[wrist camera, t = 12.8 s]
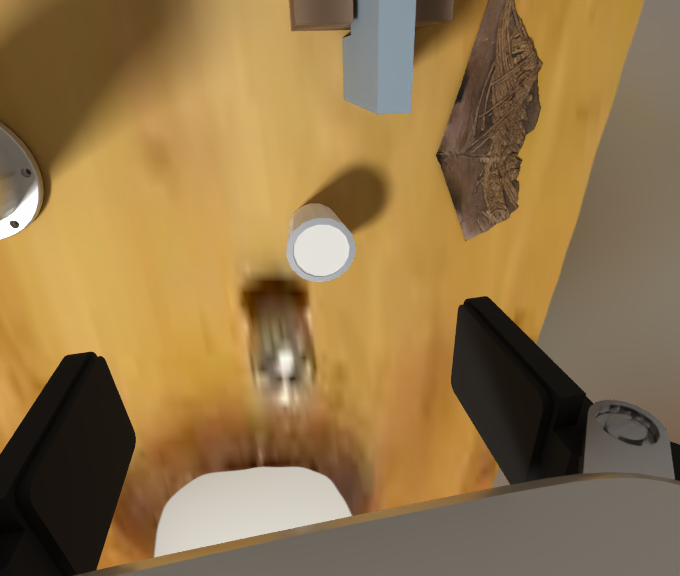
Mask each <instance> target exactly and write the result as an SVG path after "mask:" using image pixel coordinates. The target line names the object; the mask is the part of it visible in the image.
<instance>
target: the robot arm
mask: <svg viewBox="0 0 680 576" xmlns="http://www.w3.org/2000/svg"><path fill="white" fill-rule="evenodd" d="M28 170H30V172H31V173H30V172H29V171H28ZM43 196H44V187H43V179H42V176H41V173H40V170H39V167H38V165H37V163H36V161H35V159H34V157H33V155H32V154H31V152H30V151H29V150H28V148H27V147H26V146H25V144H24V143H23V142H22V141H21V140H20V139H19V138H18V137H17V136H16V135H15V134H14V133H13V132H12V131H11V130H10V129H9V128H7V127H6V126H5V125H3V124H2V123H1V122H0V240H1V239H5V238H8V237H10V236H13V235H15V234H17V233H19V232H20V231H22V230H24V229H25V228H26V227H27V226H29V225H30V224H31V223H32V222H33V221H34V219H35V218H36V217H37V215H38V214H39V212H40V209H41V206H42V204H43ZM451 384H452V388H453V391H454V393H455V395H456V396H457V398H458V399H459V401H460V403H461V404H462V406H463V408H464V409H465V411H466V413H467V414H468V416H469V418H470V419H471V421H472V422H473V424H474V426H475V427H476V429H477V431H478V432H479V434H480V436H481V437H482V439H483V440H484V442H485V444H486V445H487V447H488V449H489V450H490V452H491V454H492V455H493V457H494V459H495V460H496V462H497V463H498V465H499V467H500V468H501V470H502V472H503V473H504V475H505V476H506V478H507V480H508V481H509V483H510V485H507V486H501V487H496V488H490V489H485V490H480V491H475V492H470V493H465V494H460V495H455V496H450V497H445V498H440V499H435V500H430V501H425V502H420V503H415V504H410V505H405V506H400V507H395V508H390V509H385V510H380V511H375V512H370V513H366V514H361V515H356V516H351V517H346V518H341V519H336V520H332V521H327V522H322V523H317V524H312V525H307V526H302V527H298V528H293V529H288V530H283V531H278V532H274V533H269V534H264V535H259V536H254V537H249V538H245V539H240V540H235V541H230V542H226V543H221V544H217V545H212V546H207V547H202V548H197V549H193V550H188V551H183V552H178V553H174V554H169V555H164V556H160V557H155V558H150V559H145V560H141V561H136V562H131V563H127V564H122V565H118V566H114V567H109V568H105V569H101V570H96V569H97V566H98V563H99V559H100V556H101V553H102V550H103V547H104V544H105V540H106V537H107V534H108V531H109V528H110V525H111V521H112V518H113V515H114V512H115V509H116V506H117V502H118V499H119V496H120V493H121V490H122V486H123V483H124V480H125V477H126V474H127V471H128V467H129V464H130V461H131V458H132V455H133V452H134V448H135V443H136V437H135V432H134V429H133V427H132V424H131V422H130V420H129V417H128V415H127V412H126V410H125V407H124V405H123V402H122V400H121V397H120V395H119V392H118V390H117V388H116V385H115V383H114V380H113V378H112V375H111V373H110V370H109V368H108V365H107V363H106V361H105V359H104V358H103V357H102V356H99V357H97V355H96V354H95V353H94V352H86V353H79V354H72V355H67V356H65V357H64V358H63V360H62V361H61V363H60V364H59V366H58V367H57V369H56V370H55V372H54V373H53V375H52V376H51V378H50V379H49V381H48V382H47V384H46V386H45V387H44V389H43V390H42V392H41V393H40V395H39V396H38V398H37V399H36V401H35V402H34V404H33V405H32V407H31V408H30V410H29V411H28V413H27V415H26V416H25V418H24V419H23V421H22V422H21V424H20V425H19V427H18V428H17V430H16V431H15V433H14V434H13V436H12V437H11V439H10V440H9V442H8V444H7V445H6V447H5V448H4V450H3V451H2V453H1V454H0V576H680V445H679V444H676V443H673V442H670V440H669V435H668V432H667V430H666V428H665V427H664V425H663V424H662V423H661V422H660V421H659V420H658V419H657V418H656V417H654V416H653V415H652V414H651V413H649V412H647V411H646V410H644V409H642V408H640V407H638V406H636V405H633V404H630V403H627V402H623V401H618V400H603V401H598V402H595V403H594V404H593V403H592V402H591V401H590V400H589V399H588V398H587V397H586V396H585V395H586V393H585V392H584V391H582V389H581V388H580V387H579V386H578V385H577V384H576V383H575V382H574V381H573V380H571V378H570V377H568V375H566V373H564V372H563V371H562V370H561V369H560V368H559V367H558V366H557V365H556V364H555V363H554V362H553V361H552V360H551V359H550V358H549V357H548V356H547V355H546V354H545V353H544V352H543V351H542V350H541V349H540V348H539V347H538V346H537V345H536V344H535V343H534V342H533V341H532V340H531V339H530V338H529V337H528V336H527V335H526V334H525V333H524V332H523V331H522V330H521V329H520V328H519V327H518V326H517V325H516V324H515V323H514V322H513V321H512V320H511V319H510V318H509V317H508V316H507V315H506V314H505V313H504V312H503V311H502V310H501V309H500V308H499V307H498V306H497V305H496V304H495V303H494V302H493V301H492V300H491V299H490V298H488V297H486V296H484V297H477V298H470V299H466V300H465V301H464V304H463V305H460V306H459V308H458V315H457V325H456V335H455V345H454V355H453V365H452V375H451Z"/></svg>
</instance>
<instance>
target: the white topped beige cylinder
mask: <svg viewBox="0 0 680 576" xmlns="http://www.w3.org/2000/svg"><path fill="white" fill-rule="evenodd" d="M355 247H356V245H355V242H354V239H353V236H352V233H351V232H350V231H349V230H348V228H347V227H346V226H345V225H344V224H343V222H342V221H341V220H340V219H339V218H338V216H337V215H336V214H335V213H334V212H333V211H332V210H331V209H330V208H329V207H327V206H325V205H323V204H321V203H309V204H307V205H304V206H301V207H300V208H299V209H298V210H297V211H296V212H294V214H293V216H292V218H291V220H290V223H289V231H288V239H287V259H288V262H289V264H290V266H291V269H292V270H294V271H295V272H296V273H297V274H298V275H299V276H300V277H302V278H304V279H307V280H309V281H312V282H327V281H329V280H332V279H335V278H338V277H339V276H340V275H342V274H343V273H344V272H345V271H346V270H348V268H349V267H350V265H351V263H352V261H353V259H354V256H355Z"/></svg>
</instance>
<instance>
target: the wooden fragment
mask: <svg viewBox="0 0 680 576" xmlns="http://www.w3.org/2000/svg"><path fill="white" fill-rule="evenodd" d="M541 67H542V63H541V62H540V60H539V59H538V57H537V55H536V52H535V50H534V47H533V44H532V42H531V40H530V38H529V37H528V36H527V34H526V32H525V30H524V27H523V24H522V21H521V19H520V18H519V17H518V15H517V12H516V10H515V6H514V1H513V0H489V2H488V4H487V8H486V11H485V14H484V17H483V20H482V23H481V26H480V29H479V32H478V34H477V38H476V41H475V43H474V46H473V49H472V52H471V56H470V59H469V62H468V65H467V68H466V71H465V74H464V77H463V81H462V84H461V87H460V90H459V93H458V95H457V99H456V101H455V104H454V107H453V110H452V112H451V115H450V118H449V121H448V124H447V128H446V130H445V131H446V132H445V135H444V136H443V138H442V141H441V144H440V147H439V149H438V152H444V153H443V154H442V153H438V152H437V154H436V156H437V159H438V161H439V163H440V164H441V169H442V171H443V174H444V177H445V180H446V183H447V186H448V188H449V192H450V195H451V198H452V201H453V204H454V207H455V209H456V213H457V215H458V219H459V221H460V225H461V227H462V230H463V233H464V235H465V238H466V240H468V239H471V238H473V237H475V236H477V235H479V234H481V233H483V232H486V231H488V230H489V229H490V228H492V227H493V226H494V225H496V224H497V223H500V222H501V221H504V220H506V219H508V218H509V217H510V213H512V212H513V211H515V210H516V209H517V208H518V205H517V201H518V198H517V197H518V182H517V181H516V178H517V175H518V174H519V166H520V164H521V163H522V160H519V159H517V158H516V157H517V155H518V151H519V150H520V149H521V147H522V146H523V142H524V140H525V139H524V136H525V135H526V134H528V133H529V132H531V131H532V130H533V129H534V128H535V126H536V123H537V120H538V116H539V112H540V108H539V103H538V99H539V97H538V88H537V84H538V80H537V73H538V72H539V70H540V69H541ZM466 240H465V241H466Z"/></svg>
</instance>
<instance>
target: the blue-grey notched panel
mask: <svg viewBox="0 0 680 576" xmlns="http://www.w3.org/2000/svg"><path fill="white" fill-rule="evenodd" d="M415 15H416V0H353V23H351V35H350V36H347V37H344V38H343V80H344V100H346V101H348V102H351V103H353V104H355V105H357V106H360V107H362V108H364V109H366V110H369V111H371V112H373V113H376V114H393V113H411V100H412V79H413V58H414V37H415Z"/></svg>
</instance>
